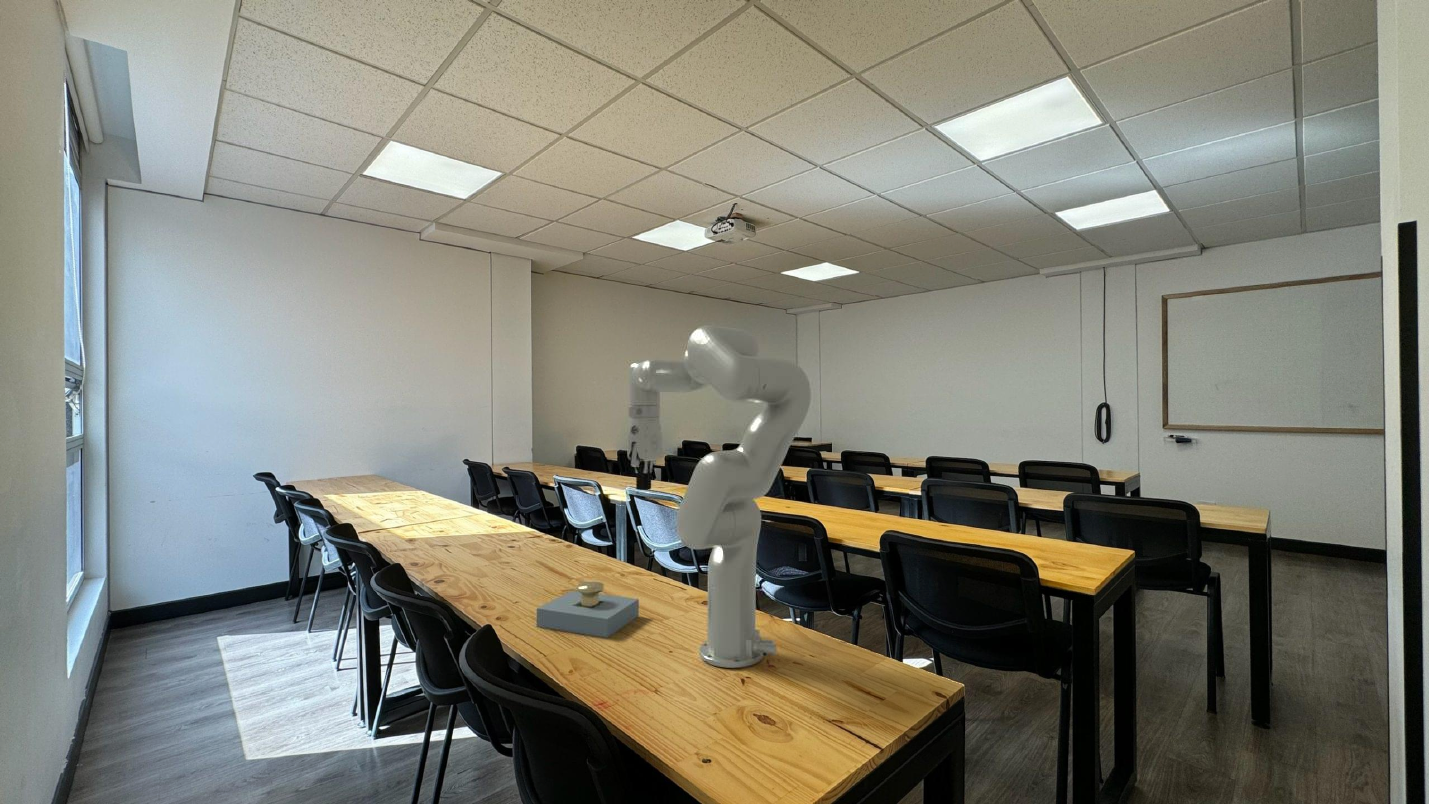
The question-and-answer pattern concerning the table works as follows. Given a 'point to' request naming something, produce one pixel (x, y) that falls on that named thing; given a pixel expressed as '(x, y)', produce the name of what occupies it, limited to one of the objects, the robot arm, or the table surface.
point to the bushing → (590, 593)
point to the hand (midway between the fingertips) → (643, 489)
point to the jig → (588, 614)
